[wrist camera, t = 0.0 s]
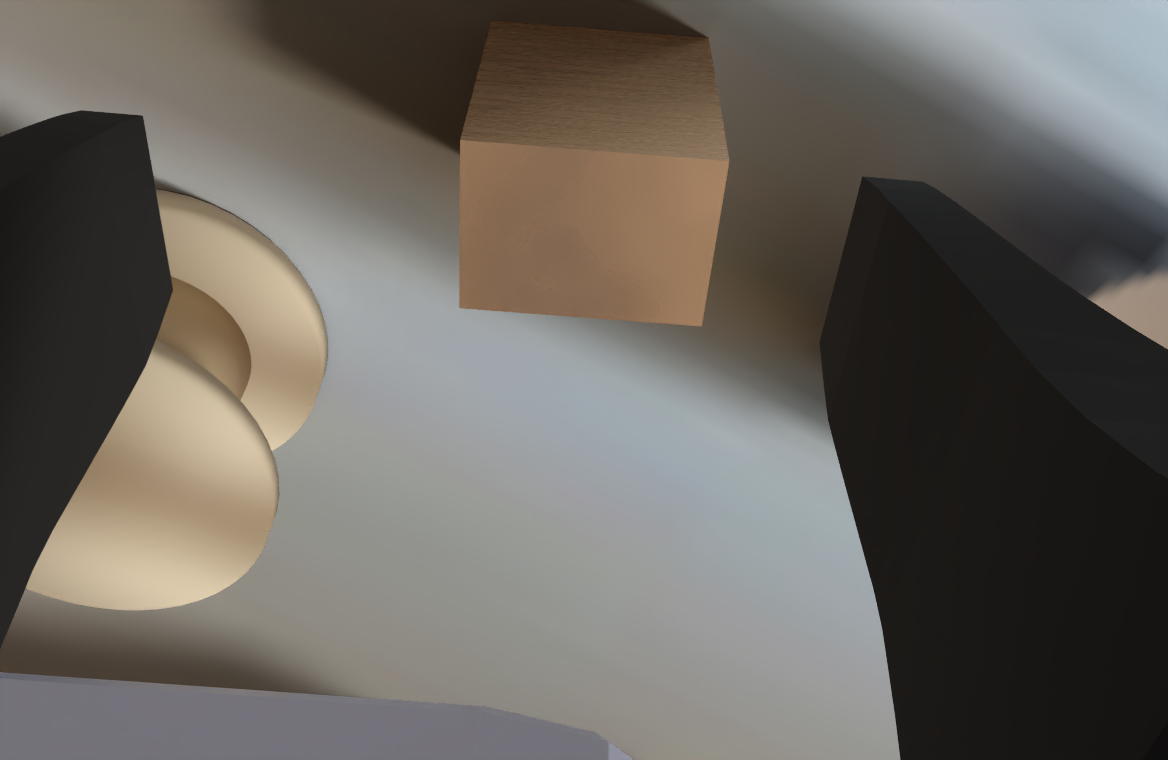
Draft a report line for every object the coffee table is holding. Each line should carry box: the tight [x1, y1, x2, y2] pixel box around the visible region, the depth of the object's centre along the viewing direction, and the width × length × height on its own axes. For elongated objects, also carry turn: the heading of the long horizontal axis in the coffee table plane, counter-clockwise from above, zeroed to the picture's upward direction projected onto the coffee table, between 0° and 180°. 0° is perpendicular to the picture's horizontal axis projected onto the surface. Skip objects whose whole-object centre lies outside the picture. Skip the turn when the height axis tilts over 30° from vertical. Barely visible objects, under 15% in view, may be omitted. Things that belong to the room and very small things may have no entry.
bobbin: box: [25, 189, 328, 610], centre depth 23 cm, size 7×7×5 cm
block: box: [459, 21, 729, 326], centre depth 19 cm, size 3×4×5 cm
